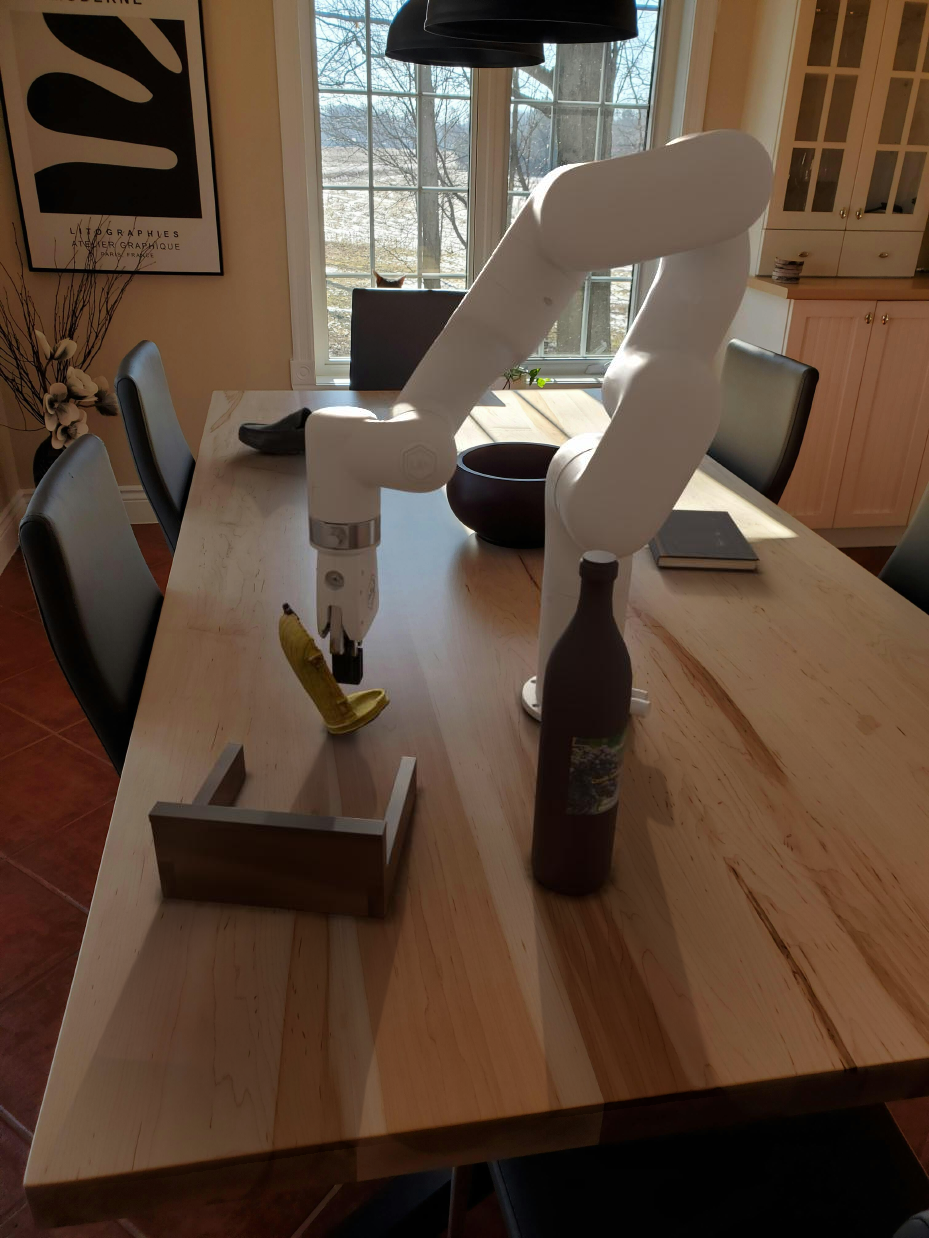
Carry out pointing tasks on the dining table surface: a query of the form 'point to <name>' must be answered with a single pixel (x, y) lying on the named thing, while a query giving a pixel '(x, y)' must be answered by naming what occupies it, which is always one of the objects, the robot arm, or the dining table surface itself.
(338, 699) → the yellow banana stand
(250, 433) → the loafer
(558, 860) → the wine bottle
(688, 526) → the hardcover book
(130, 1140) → the dining table surface
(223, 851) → the dark wooden open frame
